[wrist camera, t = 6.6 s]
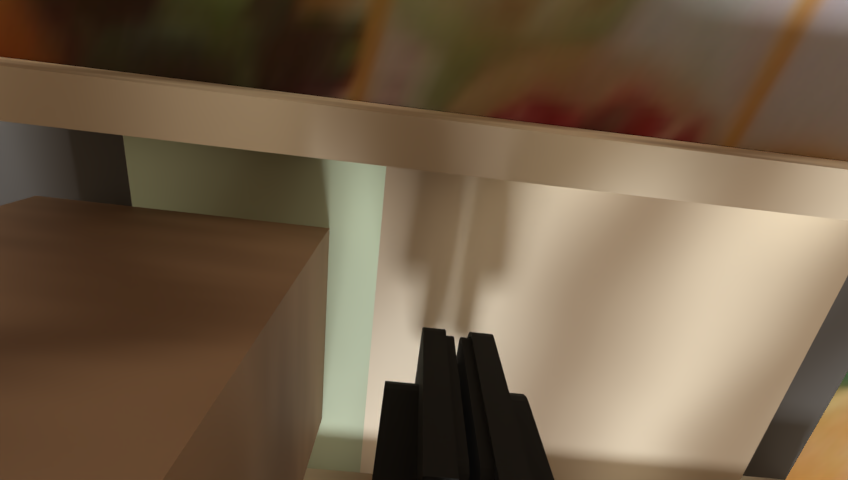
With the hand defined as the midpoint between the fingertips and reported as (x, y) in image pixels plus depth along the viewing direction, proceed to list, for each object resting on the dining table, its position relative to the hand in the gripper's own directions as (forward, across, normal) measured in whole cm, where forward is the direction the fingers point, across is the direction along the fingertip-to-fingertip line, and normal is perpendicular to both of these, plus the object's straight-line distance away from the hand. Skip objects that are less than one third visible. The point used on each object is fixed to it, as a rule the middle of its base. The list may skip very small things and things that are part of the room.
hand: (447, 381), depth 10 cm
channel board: (+3, +1, 0) cm, 3 cm away
